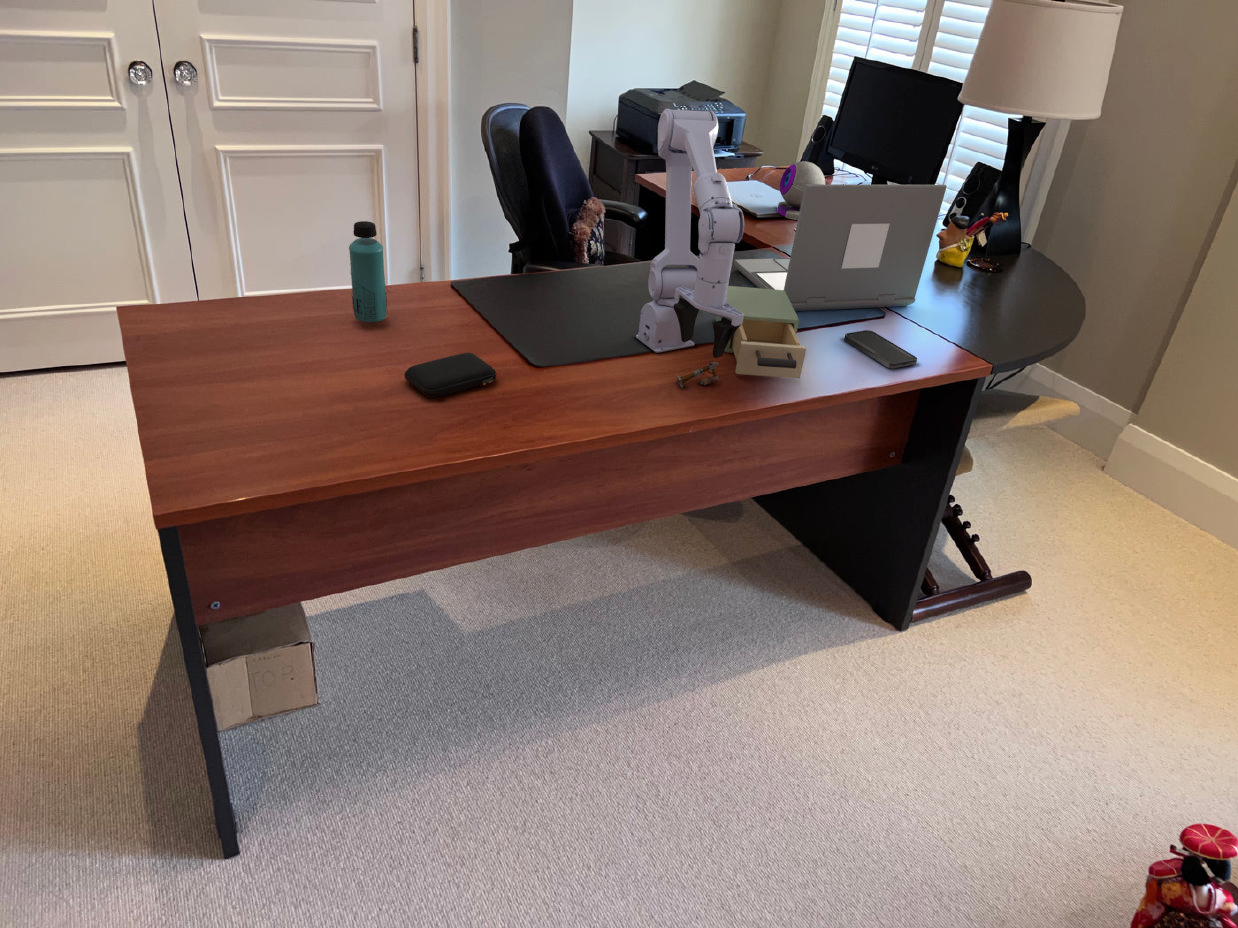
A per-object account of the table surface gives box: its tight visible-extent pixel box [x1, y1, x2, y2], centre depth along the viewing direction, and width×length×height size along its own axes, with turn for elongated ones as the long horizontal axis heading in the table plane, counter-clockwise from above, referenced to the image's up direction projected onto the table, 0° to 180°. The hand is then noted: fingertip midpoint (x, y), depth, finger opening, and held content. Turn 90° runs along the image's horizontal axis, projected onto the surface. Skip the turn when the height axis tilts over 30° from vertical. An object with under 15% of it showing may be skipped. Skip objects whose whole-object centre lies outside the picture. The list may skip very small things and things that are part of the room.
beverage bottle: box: [348, 220, 388, 323], centre depth 172 cm, size 6×7×20 cm
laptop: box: [733, 183, 948, 312], centre depth 210 cm, size 35×26×28 cm
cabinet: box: [715, 285, 800, 354], centre depth 187 cm, size 16×14×8 cm
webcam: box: [776, 160, 826, 221], centre depth 264 cm, size 13×13×15 cm
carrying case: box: [403, 352, 498, 399], centre depth 159 cm, size 11×3×15 cm
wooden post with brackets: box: [675, 361, 720, 388], centre depth 168 cm, size 2×8×4 cm, turn 106°
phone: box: [843, 329, 918, 370], centre depth 189 cm, size 8×1×15 cm
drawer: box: [731, 320, 807, 379], centre depth 175 cm, size 20×12×6 cm, turn 2°
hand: (701, 348), depth 165 cm, fingers open, 7 cm apart
